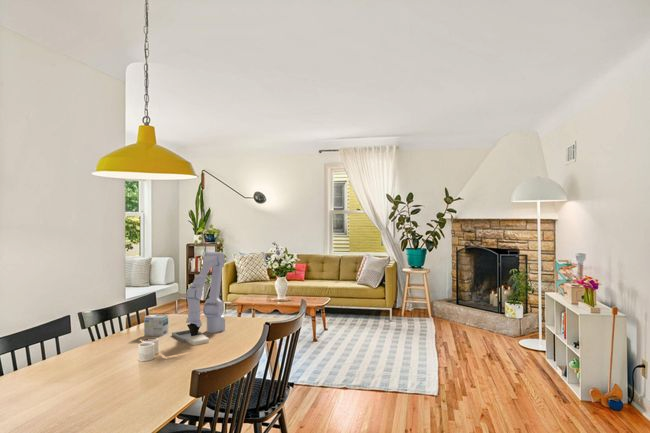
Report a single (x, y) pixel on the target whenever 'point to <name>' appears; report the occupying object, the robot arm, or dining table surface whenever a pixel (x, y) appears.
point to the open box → (184, 335)
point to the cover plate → (197, 339)
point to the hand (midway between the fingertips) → (194, 338)
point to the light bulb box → (156, 325)
